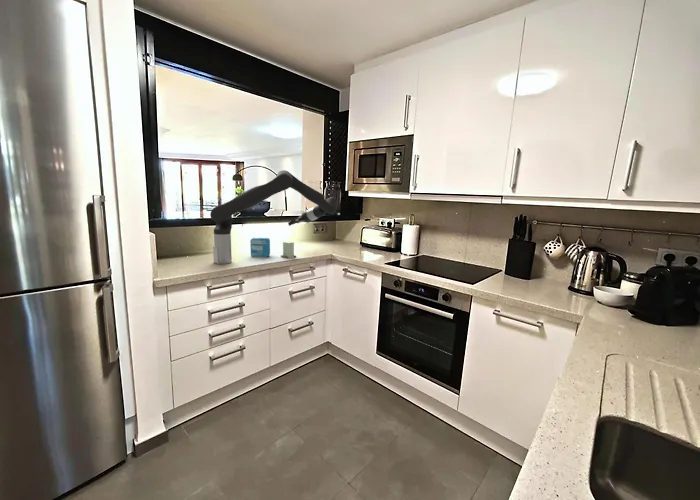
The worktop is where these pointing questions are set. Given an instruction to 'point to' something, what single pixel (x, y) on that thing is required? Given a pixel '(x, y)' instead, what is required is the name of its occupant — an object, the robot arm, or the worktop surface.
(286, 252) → the sage block
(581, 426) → the worktop surface
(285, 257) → the chute
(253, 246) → the data package
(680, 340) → the worktop surface
